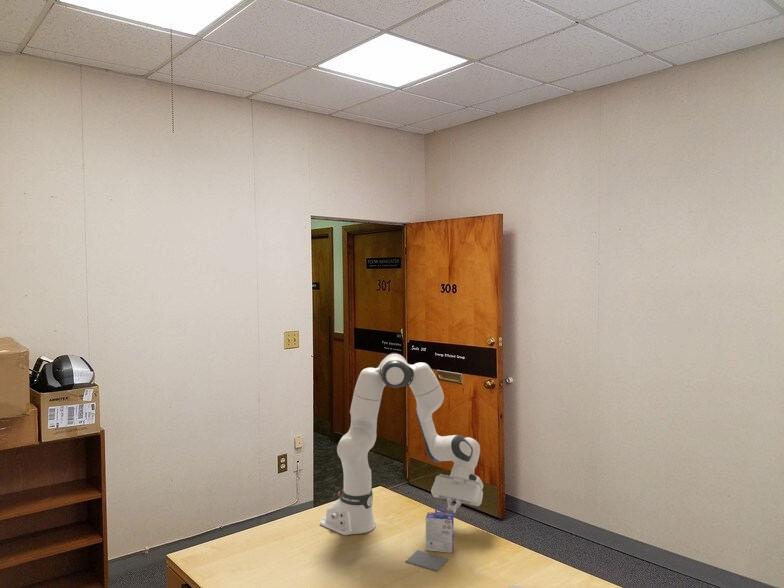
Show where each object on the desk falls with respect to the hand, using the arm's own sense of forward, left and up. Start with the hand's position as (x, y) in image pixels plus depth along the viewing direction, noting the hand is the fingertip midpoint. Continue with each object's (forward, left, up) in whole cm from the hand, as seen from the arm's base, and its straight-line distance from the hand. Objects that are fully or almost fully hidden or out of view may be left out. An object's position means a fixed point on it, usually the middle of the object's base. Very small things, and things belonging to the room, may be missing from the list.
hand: (451, 511), depth 209 cm
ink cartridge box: (0, -10, -10) cm, 14 cm away
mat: (0, -20, -10) cm, 23 cm away
